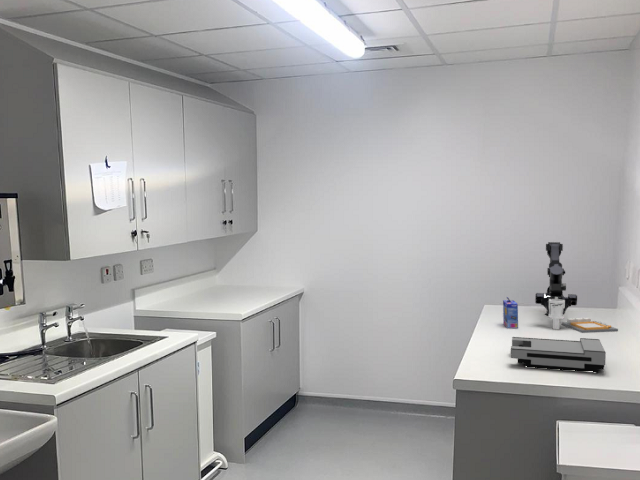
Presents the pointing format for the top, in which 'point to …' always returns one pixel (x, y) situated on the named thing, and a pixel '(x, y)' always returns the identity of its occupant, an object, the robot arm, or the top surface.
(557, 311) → the white piece
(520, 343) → the game console
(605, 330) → the panel
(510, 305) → the ink cartridge box
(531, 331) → the top surface
